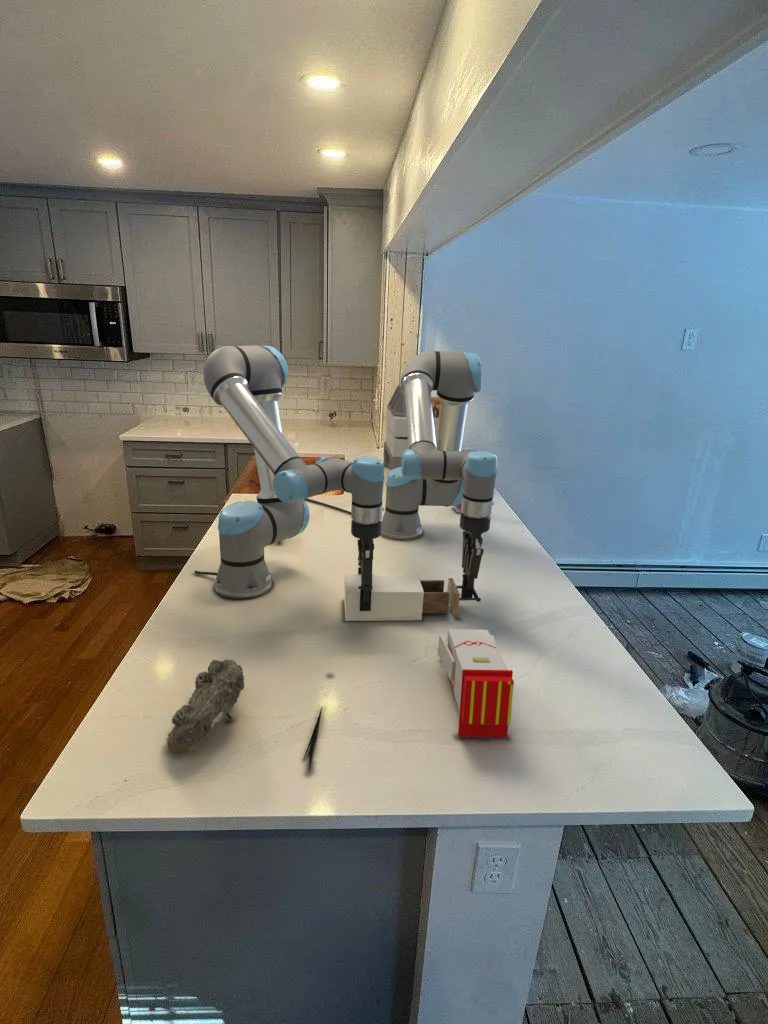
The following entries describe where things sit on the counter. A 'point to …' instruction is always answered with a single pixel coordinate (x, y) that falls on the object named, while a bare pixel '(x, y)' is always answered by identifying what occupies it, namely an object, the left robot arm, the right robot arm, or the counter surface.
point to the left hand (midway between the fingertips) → (363, 599)
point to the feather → (313, 740)
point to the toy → (478, 682)
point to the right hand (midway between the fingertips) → (466, 597)
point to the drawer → (443, 596)
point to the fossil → (206, 705)
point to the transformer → (401, 428)
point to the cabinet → (385, 598)
